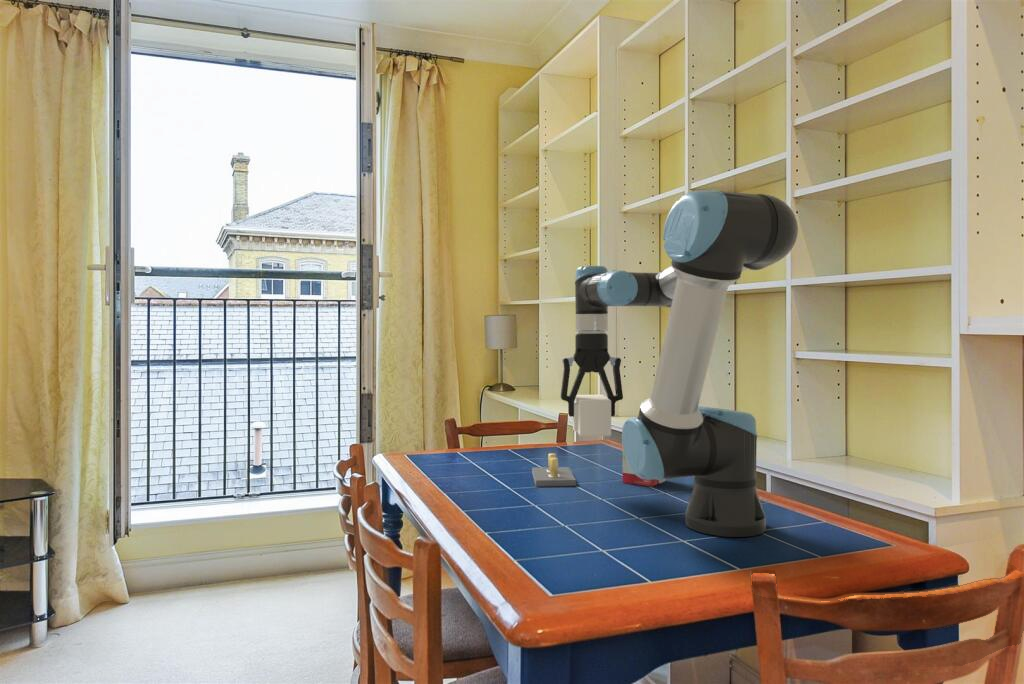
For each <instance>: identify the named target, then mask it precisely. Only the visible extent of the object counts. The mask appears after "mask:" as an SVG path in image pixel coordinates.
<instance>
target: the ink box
mask: <svg viewBox="0 0 1024 684" xmlns="http://www.w3.org/2000/svg"><path fill="white" fill-rule="evenodd" d="M621 478H622V481H621V482H622V483H624V484H631V485H639V486H643V487H644V486H645V487H655V486H657V485H659V484H662V483H665V482H666V480H667V479H662V480H657V479H649V480H645V479H641V478H639V477H638V476H636V475H635V474H634V473H633V471H632V470H631V468H630V467H629V465H628V463H627V460H626V458H625V454H624V451H623V450H622V477H621Z"/></svg>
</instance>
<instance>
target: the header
mask: <svg viewBox="0 0 1024 684" xmlns="http://www.w3.org/2000/svg"><path fill="white" fill-rule="evenodd" d="M547 455H548V456H547V461H548V464H547V465H548V467H540V466H539V467H536V466H535V467H531V470H532V471H531V474H532V477H533V481H534V485H535V487H536V488H537V487H577V479H576V478H575V476H574V474H573V472H572V470H571V468H570V466H566V467H565V466H562V467H561V466H559V458H558V457H557V454H556V453H548V454H547Z"/></svg>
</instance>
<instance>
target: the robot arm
mask: <svg viewBox="0 0 1024 684" xmlns="http://www.w3.org/2000/svg"><path fill="white" fill-rule="evenodd" d="M666 216H667V217H666V220H665V223H664V227H663V232H662V233H663V235H662V239H663V241H664V243H663V248H664V251H665V254H666V255H667V256H668V258H670V260H671V264H670V266H669V267H667V268H665V269H662V270H661V271H659V272H633V271H632V272H630V271H626V270H611V271H608V269H607V267H605V266H602V265H586V266H585V265H584V266H579V267H577V268H576V270H575V280H574V286H575V287H574V289H575V290H574V292H575V331H576V332H577V333H576V334H575V335H574V336H575V338H574V339H575V342H574V343H575V344H574V345H575V351H574V354H573V356H570V357H569V356H568V357H563V358H562V364H563V372H562V381H561V389H560V399H561V400H562V401H564V402H567V403H568V405H567V406H568V408H567V409H568V411H567V412H568V413H567V414H568V416H569V417H570V418H571V417H572V430H573V432H577V403H576V402H574V401H575V398H576V395H578V392H579V391H580V387H581V385H582V382H583V379H584V376H585V375H586V373H587V374H588V373H589V374H590V373H597V374H598V375H599V378H600V380H601V384H602V386H603V389H604V391H605V394H606V397H607V398H608V399H610V400H611V417H615V415H616V402H619V401H622V400H623V398H624V395H623V394H624V393H623V387H622V377H621V369H620V367H621V363H622V359H621V358H620V357H613V356H611V355H610V353H609V345H608V344H609V341H608V340H609V339H608V338H609V336H608V334H607V333H606V332H607V331H608V329H609V326H608V320H609V318H608V314H609V313H608V312H609V311H608V310H609V309H608V308H609V307H665V308H670V310H669V314H668V319H667V323H666V328H665V331H664V332H665V333H664V336H663V342H662V344H661V345H662V347H661V350H660V355H659V360H658V364H657V369H656V373H655V377H654V382H653V387H652V390H651V395H650V397H649V398H646V399H645V400H643V401H641V404H640V406H639V407H640V408H639V412H638V416H637V417H636V416H632V417H629V418H628V419H627V420H626V421H625V422H624V423H623V425H622V430H621V443H622V452H623V451H624V454H625V458H626V460H627V463H628V465H629V467H630V468H631V470H632V471H633V473H634V474H635V475H636V476H638V477H639V478H641V479H645V480H649V479H657V480H662V479H666V480H667V479H677V478H687V477H694V478H693V479H694V483H693V488H692V492H691V494H690V497H689V500H688V503H687V507H686V509H685V512H684V515H685V519H684V521H685V525H686V527H688V528H689V529H691V530H693V531H695V532H698V533H702V534H705V535H711V536H712V535H713V536H718V537H726V538H741V537H742V538H745V537H754V536H758V535H762V534H764V533H765V532H766V530H767V518H766V514H765V511H764V508H763V505H762V503H761V499H760V496H759V494H758V493H759V492H758V489H757V446H758V445H757V444H758V443H757V440H758V439H757V438H758V433H757V423H756V422H757V420H756V418H755V417H754V416H753V415H752V414H751V413H750V412H745V411H740V410H734V409H727V408H726V409H725V408H720V407H719V408H718V407H710V406H699V404H700V400H701V397H702V392H703V389H704V385H705V379H706V377H707V372H708V369H709V364H710V360H711V356H712V352H713V348H714V345H715V340H716V337H717V333H718V329H719V325H720V322H721V317H722V314H723V313H722V312H723V309H724V304H725V301H726V297H727V293H728V289H729V287H730V285H733V284H734V283H735V282H736V283H737V282H738V281H739V280H740V278H741V275H742V272H744V271H746V270H749V271H760V270H761V269H765V268H767V267H769V266H772V265H773V264H776V263H777V262H780V261H781V260H782V259H784V258H785V257H787V255H788V254H789V253H790V252H791V250H792V249H793V248H794V247H795V245H796V242H797V238H798V234H799V227H798V225H799V224H798V220H797V217H796V215H795V213H794V211H793V210H792V208H791V207H790V206H789V205H788V204H787V203H786V202H785V201H784V200H782V199H780V198H779V197H776V196H773V195H770V194H763V193H746V192H737V191H734V192H733V191H725V190H723V191H722V190H715V189H711V190H709V189H708V190H694V191H693V190H692V191H688V192H687V193H685V194H684V195H682V196H681V197H680V198H679V199H677V201H676V202H675V203H674V204H673V205H672V207H671V208H670V210H669V212H668V214H667V215H666ZM608 362H610V365H611V367H612V374H613V375H612V376H613V382H614V391H615V395H614V392H613V389H612V388H611V384H610V382H609V380H608V376H607V373H606V370H605V367H606V365H607V364H608ZM573 363H575V364H576V365H577V366H578V370H577V373H576V374H577V375H576V377H575V379H574V382H573V385H572V387H571V390H570V393H569V395H568V391H569V390H568V389H569V381H570V374H571V367H572V366H573Z"/></svg>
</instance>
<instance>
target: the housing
mask: <svg viewBox="0 0 1024 684" xmlns="http://www.w3.org/2000/svg"><path fill="white" fill-rule="evenodd" d="M574 402H576V403H577V431H576V433H577V434H578V435H579V437H612V416H611V400H610V399H608V397H607V396H606V395H603V394H577V395H576V398H575V401H574Z"/></svg>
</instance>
